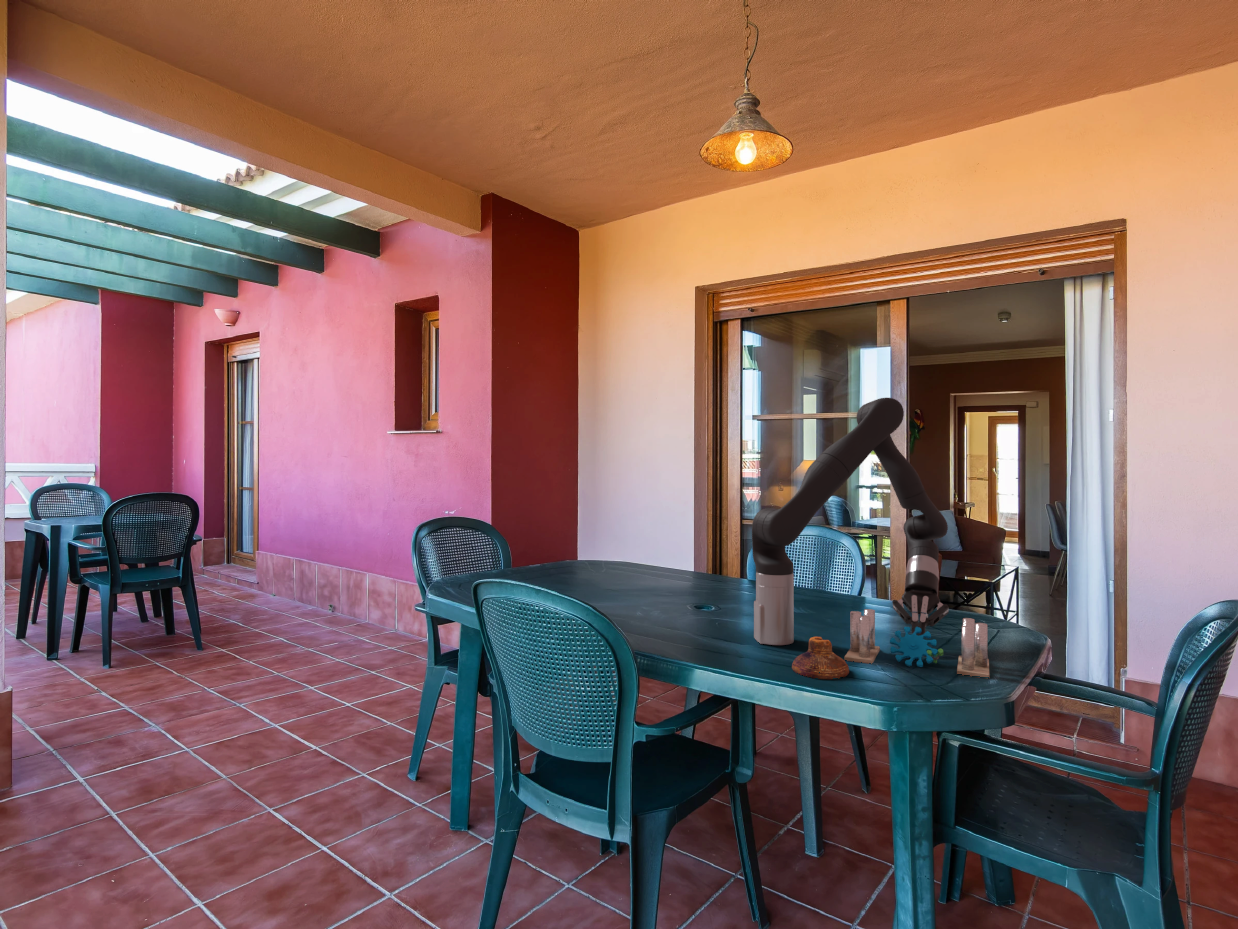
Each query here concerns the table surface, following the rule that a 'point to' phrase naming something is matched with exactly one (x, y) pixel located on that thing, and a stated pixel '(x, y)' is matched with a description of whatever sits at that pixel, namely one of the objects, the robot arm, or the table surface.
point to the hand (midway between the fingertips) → (918, 638)
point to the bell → (820, 661)
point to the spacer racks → (976, 672)
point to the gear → (915, 647)
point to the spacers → (971, 638)
